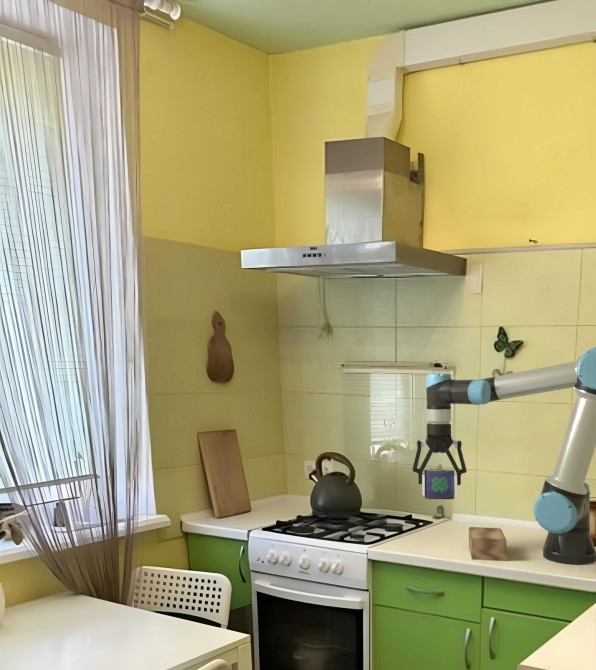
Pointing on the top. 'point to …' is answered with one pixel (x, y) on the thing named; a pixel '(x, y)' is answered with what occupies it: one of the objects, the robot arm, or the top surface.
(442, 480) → the flask
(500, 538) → the walnut block
